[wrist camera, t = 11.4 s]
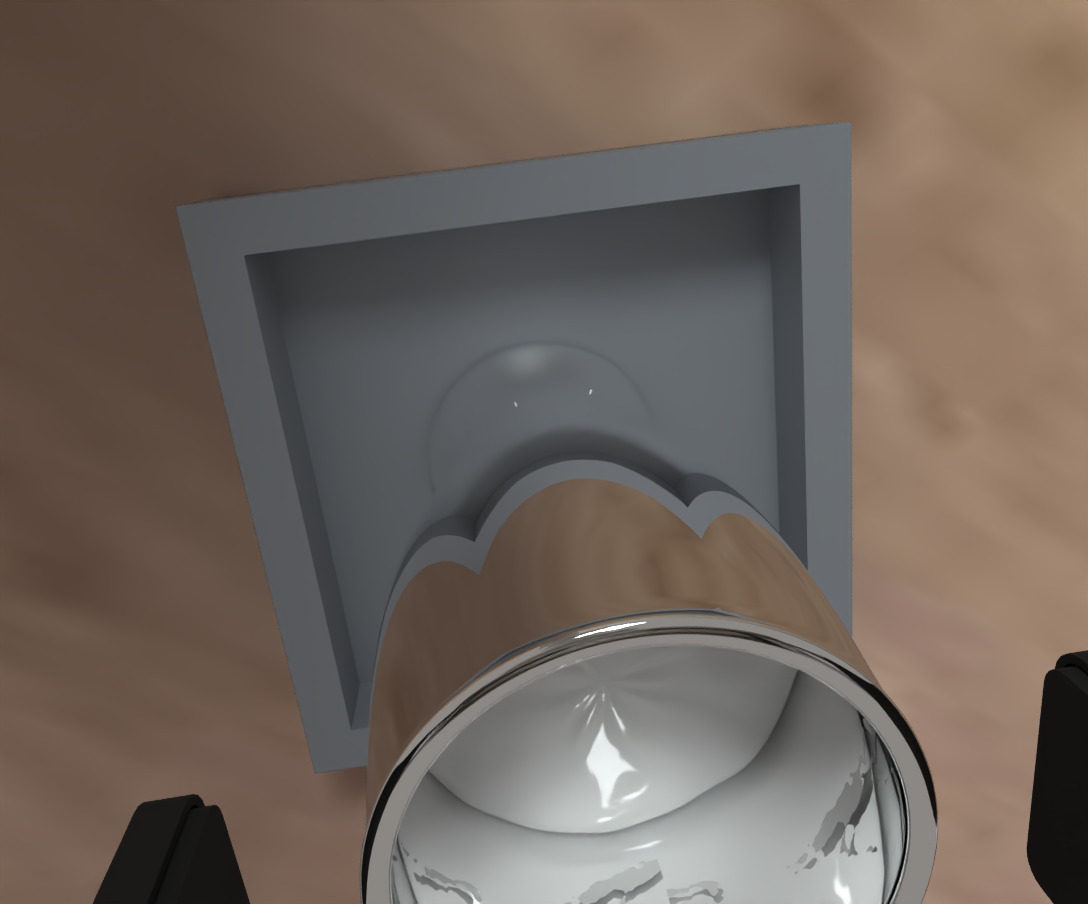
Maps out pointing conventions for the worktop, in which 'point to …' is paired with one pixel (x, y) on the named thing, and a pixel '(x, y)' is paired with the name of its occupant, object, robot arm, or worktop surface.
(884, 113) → the worktop surface
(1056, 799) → the robot arm
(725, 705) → the beer glass
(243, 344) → the slate tray
